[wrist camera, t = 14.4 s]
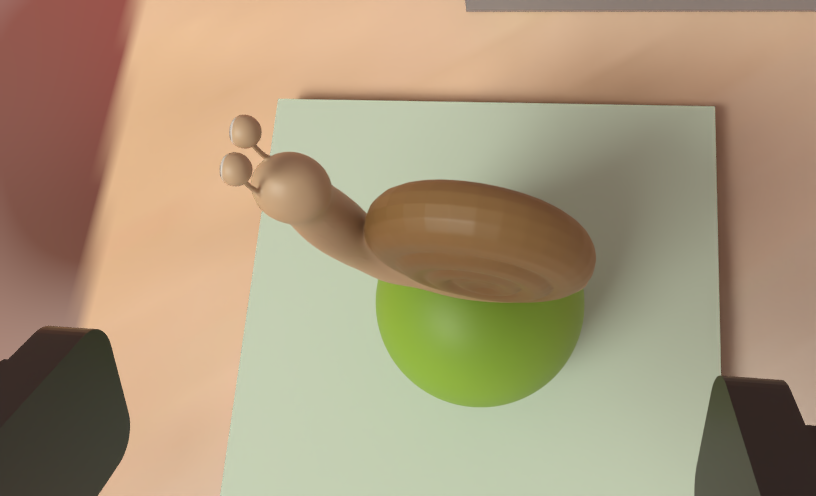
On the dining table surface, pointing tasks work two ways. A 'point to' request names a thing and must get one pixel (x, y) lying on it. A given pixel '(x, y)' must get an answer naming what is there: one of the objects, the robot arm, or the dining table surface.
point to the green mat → (574, 384)
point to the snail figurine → (442, 270)
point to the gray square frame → (640, 5)
